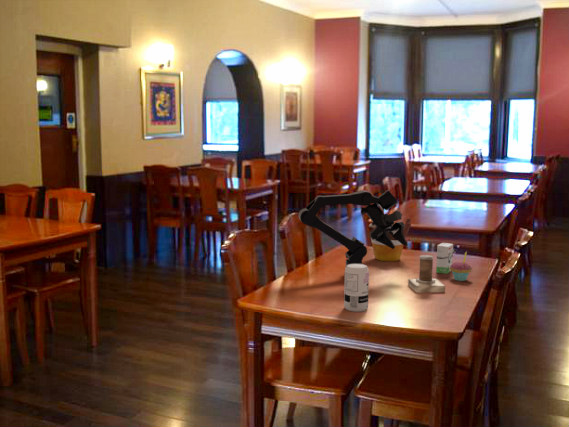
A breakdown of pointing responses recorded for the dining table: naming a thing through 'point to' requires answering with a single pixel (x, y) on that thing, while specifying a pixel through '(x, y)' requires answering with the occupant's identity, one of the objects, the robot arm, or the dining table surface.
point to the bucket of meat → (386, 252)
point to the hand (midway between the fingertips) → (400, 246)
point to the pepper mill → (426, 270)
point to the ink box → (444, 258)
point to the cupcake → (460, 270)
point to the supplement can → (356, 287)
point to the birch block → (426, 286)
